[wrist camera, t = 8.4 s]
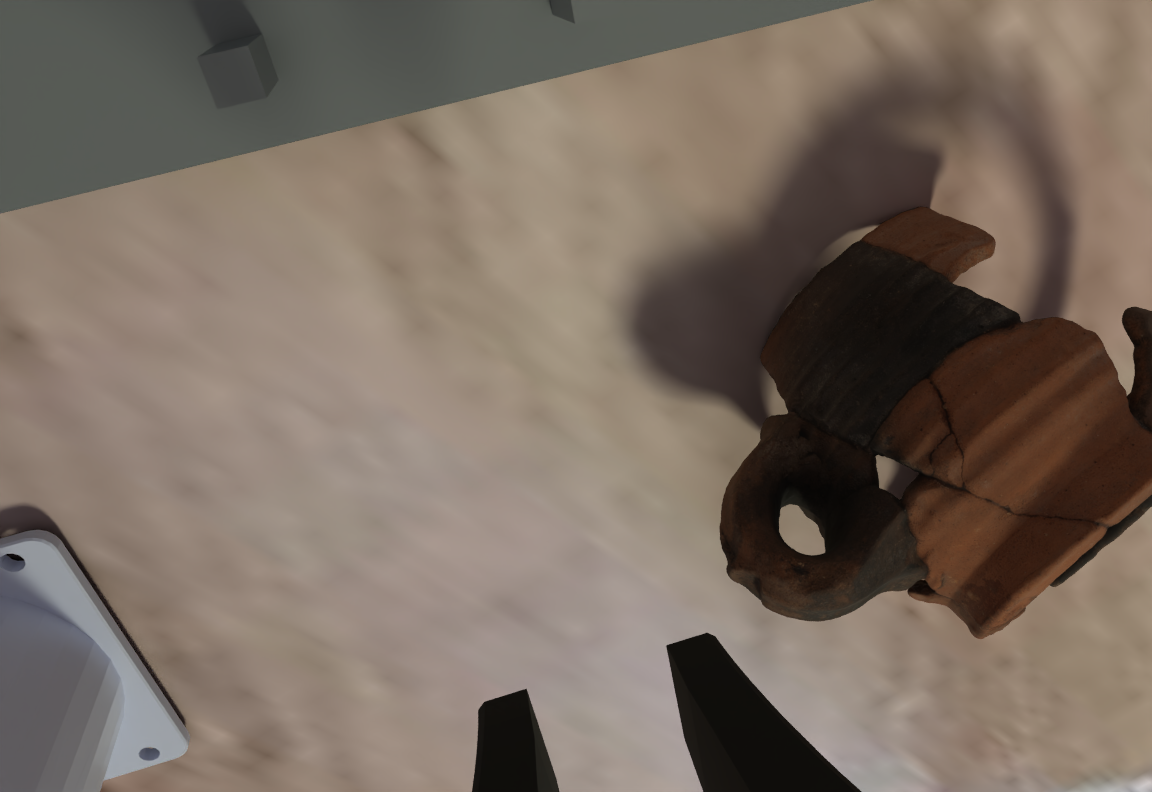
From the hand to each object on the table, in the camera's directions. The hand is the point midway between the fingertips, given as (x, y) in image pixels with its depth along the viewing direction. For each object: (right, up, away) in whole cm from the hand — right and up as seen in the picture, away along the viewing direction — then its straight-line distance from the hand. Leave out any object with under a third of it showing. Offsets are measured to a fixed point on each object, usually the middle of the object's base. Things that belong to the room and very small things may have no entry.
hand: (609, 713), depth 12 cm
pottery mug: (+8, +5, +11) cm, 14 cm away
